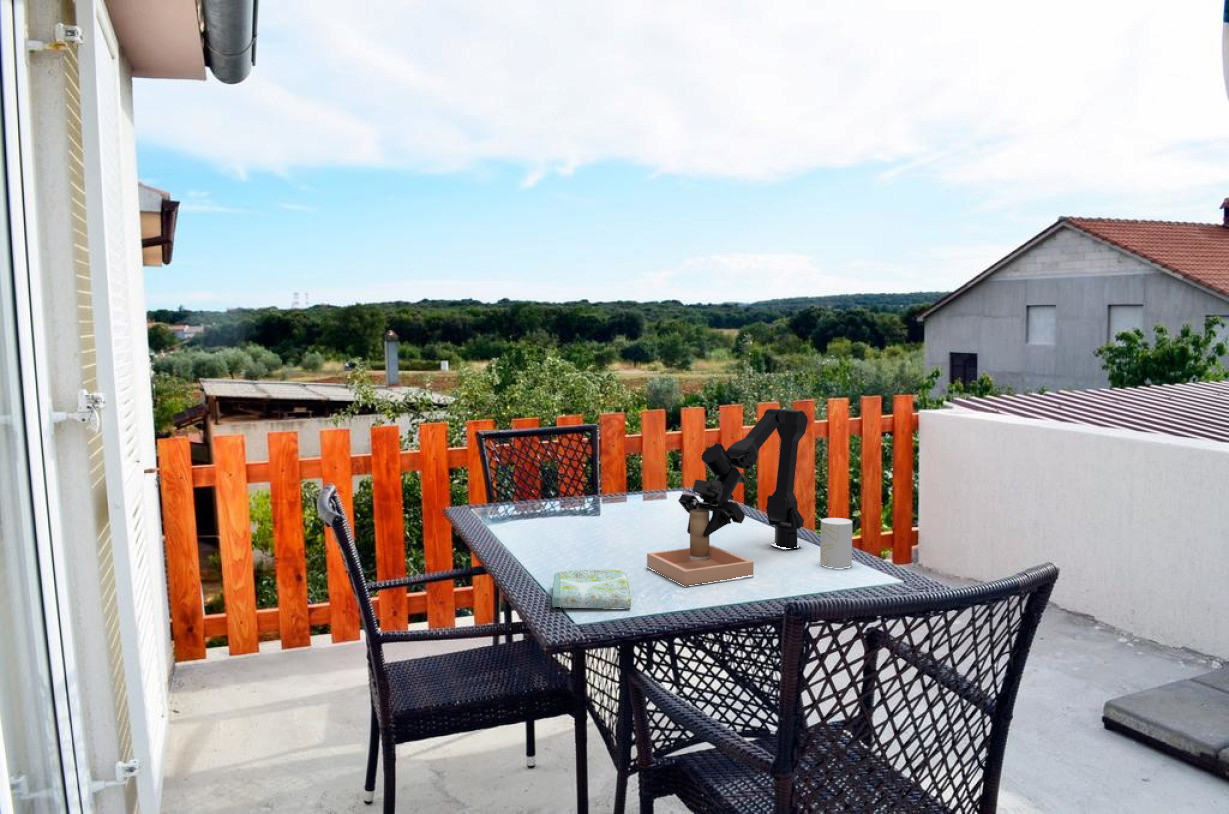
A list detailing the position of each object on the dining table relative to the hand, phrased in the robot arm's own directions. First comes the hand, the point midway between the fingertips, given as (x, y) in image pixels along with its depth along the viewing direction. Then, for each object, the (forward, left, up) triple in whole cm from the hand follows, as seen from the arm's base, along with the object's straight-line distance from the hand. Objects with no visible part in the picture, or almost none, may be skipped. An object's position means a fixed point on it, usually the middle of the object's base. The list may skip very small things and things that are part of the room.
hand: (696, 534), depth 241 cm
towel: (+7, -33, -11) cm, 35 cm away
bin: (0, +1, -10) cm, 10 cm away
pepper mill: (0, +1, -7) cm, 7 cm away
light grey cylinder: (+10, +37, -10) cm, 40 cm away
